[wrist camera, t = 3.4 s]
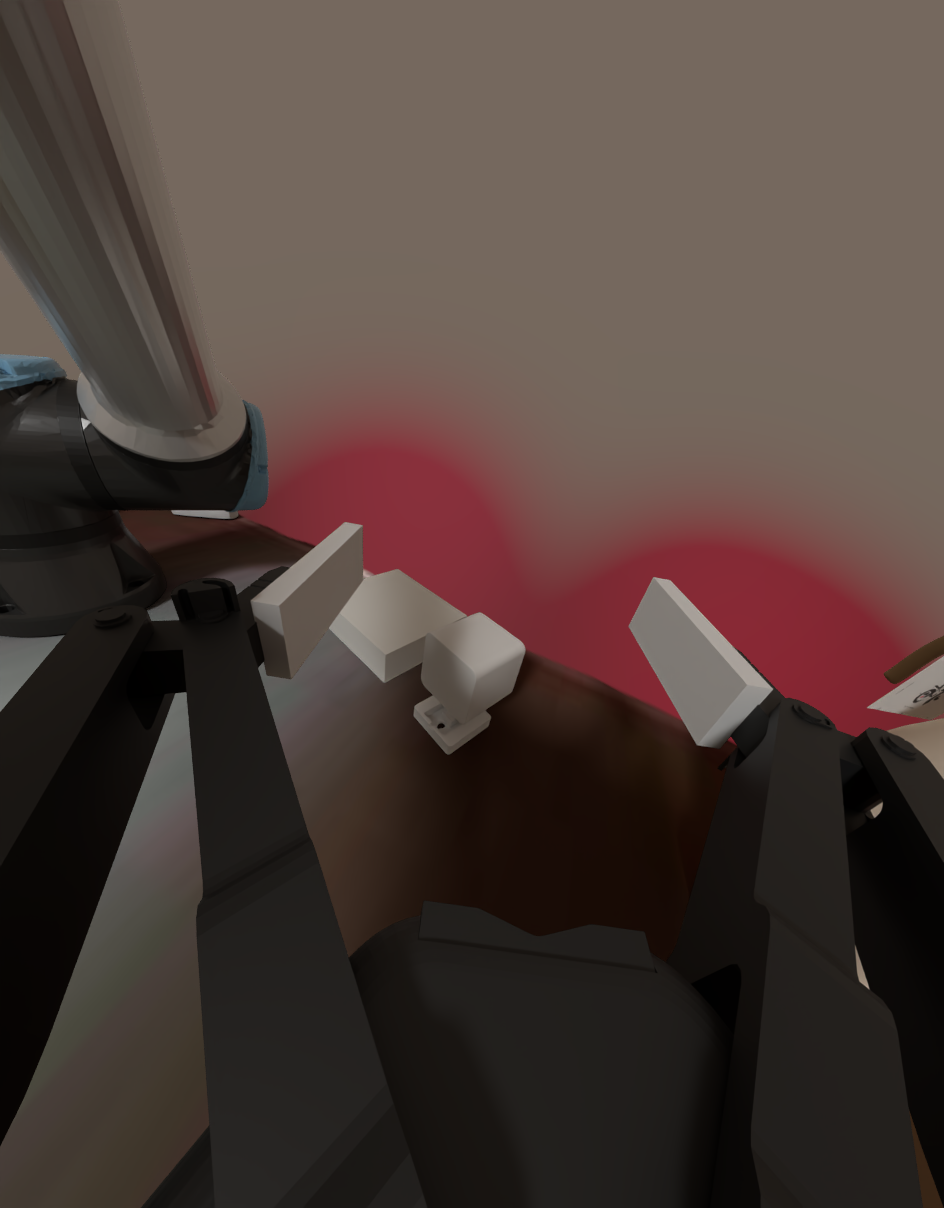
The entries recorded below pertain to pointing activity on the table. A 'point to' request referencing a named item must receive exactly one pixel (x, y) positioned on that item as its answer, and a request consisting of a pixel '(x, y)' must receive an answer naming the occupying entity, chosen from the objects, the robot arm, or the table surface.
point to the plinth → (391, 622)
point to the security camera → (466, 677)
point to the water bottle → (917, 712)
